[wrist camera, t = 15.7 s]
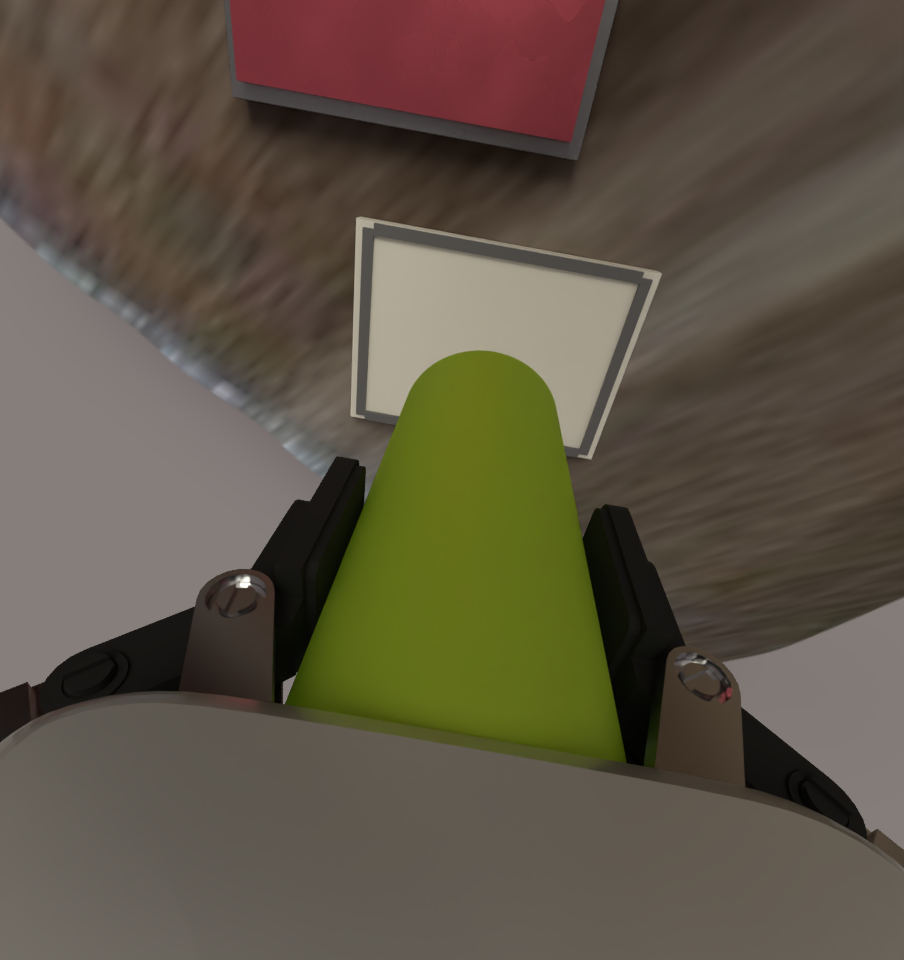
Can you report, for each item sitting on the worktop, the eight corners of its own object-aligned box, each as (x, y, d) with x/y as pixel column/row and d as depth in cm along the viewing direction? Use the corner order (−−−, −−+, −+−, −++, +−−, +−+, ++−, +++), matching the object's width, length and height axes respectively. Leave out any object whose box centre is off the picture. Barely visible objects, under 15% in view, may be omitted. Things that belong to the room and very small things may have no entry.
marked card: (360, 216, 21) (355, 218, 21) (657, 270, 21) (663, 274, 21) (354, 410, 27) (349, 417, 26) (589, 452, 27) (591, 461, 26)
